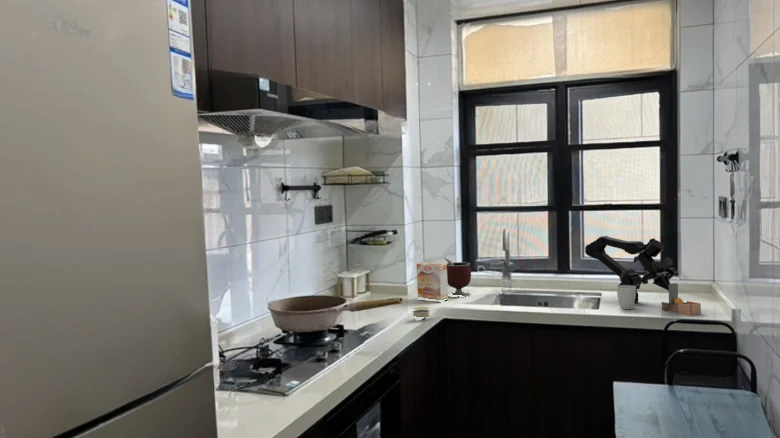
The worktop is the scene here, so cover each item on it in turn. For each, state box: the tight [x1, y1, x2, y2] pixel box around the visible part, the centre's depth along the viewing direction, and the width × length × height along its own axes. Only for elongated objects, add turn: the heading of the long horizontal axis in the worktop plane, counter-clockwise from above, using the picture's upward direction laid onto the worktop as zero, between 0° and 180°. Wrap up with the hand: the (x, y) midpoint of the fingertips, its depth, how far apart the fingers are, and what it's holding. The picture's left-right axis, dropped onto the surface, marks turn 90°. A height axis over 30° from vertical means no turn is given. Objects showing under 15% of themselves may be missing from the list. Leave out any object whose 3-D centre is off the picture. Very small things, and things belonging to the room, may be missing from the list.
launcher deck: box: [661, 301, 687, 314], centre depth 255 cm, size 8×6×4 cm
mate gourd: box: [443, 257, 472, 297], centre depth 312 cm, size 16×14×20 cm
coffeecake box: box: [416, 261, 449, 300], centre depth 302 cm, size 15×7×20 cm, turn 49°
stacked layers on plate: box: [412, 306, 431, 318], centre depth 261 cm, size 10×9×6 cm
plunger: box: [668, 282, 679, 304], centre depth 255 cm, size 1×5×9 cm, turn 119°
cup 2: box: [677, 300, 702, 317], centre depth 249 cm, size 6×6×4 cm
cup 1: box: [616, 285, 637, 311], centre depth 263 cm, size 8×8×10 cm
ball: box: [674, 297, 684, 304], centre depth 253 cm, size 4×4×4 cm
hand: (671, 290), depth 255 cm, fingers closed, pressing on plunger
